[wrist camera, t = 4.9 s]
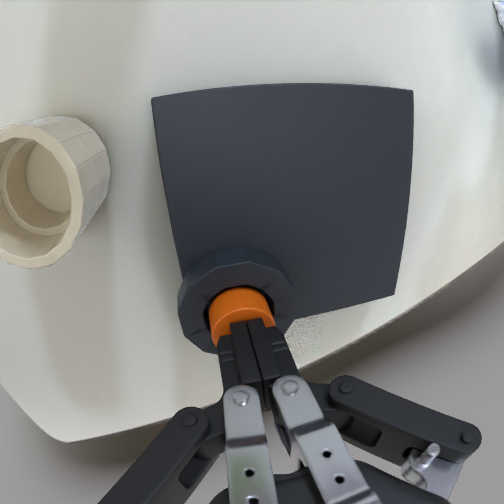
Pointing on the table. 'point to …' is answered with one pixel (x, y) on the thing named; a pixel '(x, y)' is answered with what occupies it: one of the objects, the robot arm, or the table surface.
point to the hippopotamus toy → (500, 12)
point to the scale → (285, 195)
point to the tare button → (237, 310)
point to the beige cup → (48, 187)
